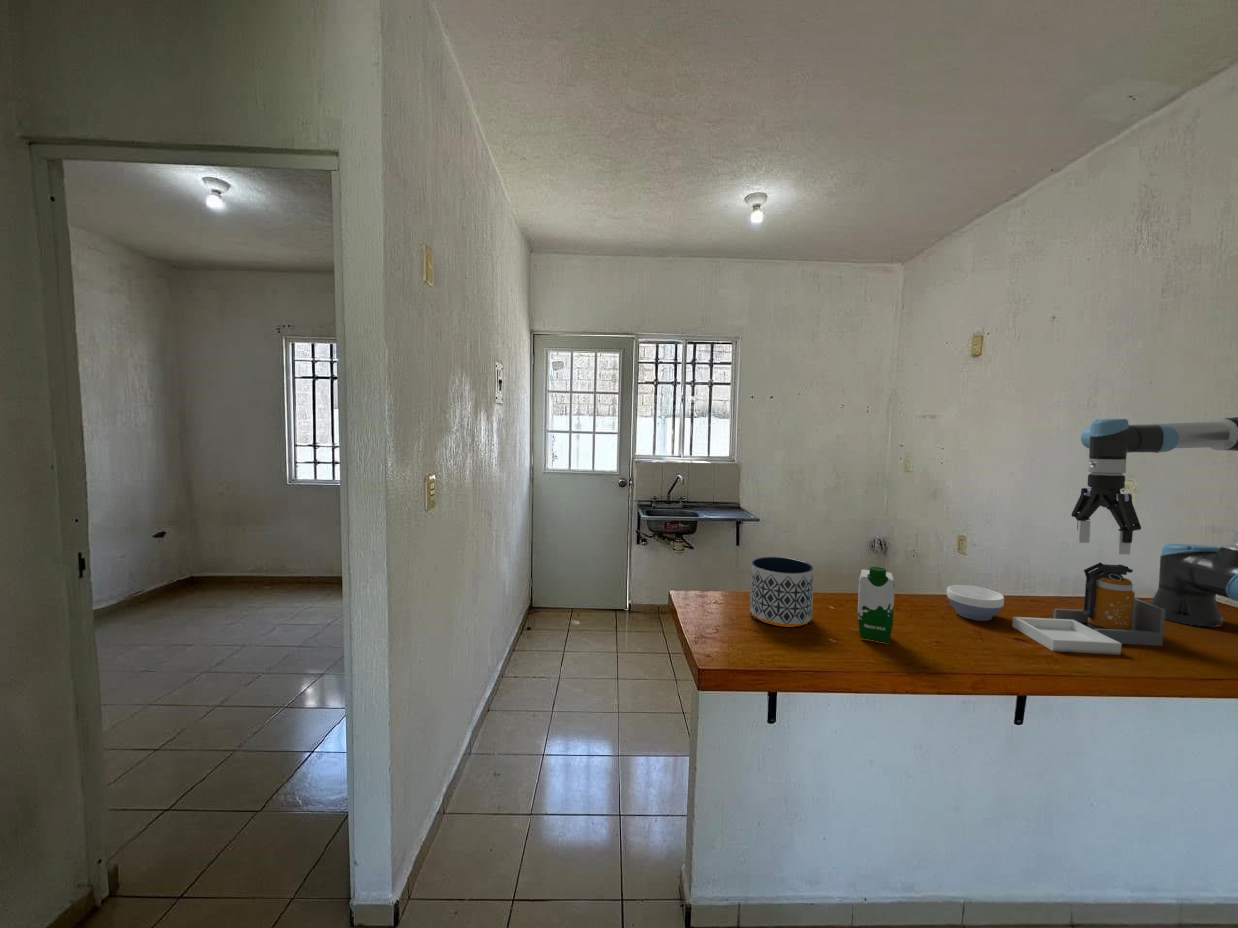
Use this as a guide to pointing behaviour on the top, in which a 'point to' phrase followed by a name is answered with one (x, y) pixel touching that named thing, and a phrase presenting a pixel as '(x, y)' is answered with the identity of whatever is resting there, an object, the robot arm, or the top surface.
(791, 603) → the planter
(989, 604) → the bowl
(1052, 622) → the tray
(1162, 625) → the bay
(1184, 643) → the top surface
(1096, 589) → the canister
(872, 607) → the milk carton
